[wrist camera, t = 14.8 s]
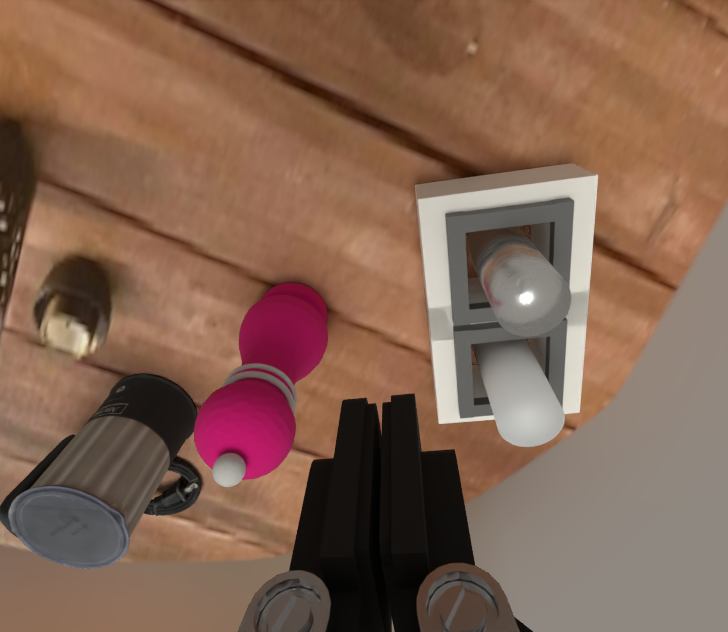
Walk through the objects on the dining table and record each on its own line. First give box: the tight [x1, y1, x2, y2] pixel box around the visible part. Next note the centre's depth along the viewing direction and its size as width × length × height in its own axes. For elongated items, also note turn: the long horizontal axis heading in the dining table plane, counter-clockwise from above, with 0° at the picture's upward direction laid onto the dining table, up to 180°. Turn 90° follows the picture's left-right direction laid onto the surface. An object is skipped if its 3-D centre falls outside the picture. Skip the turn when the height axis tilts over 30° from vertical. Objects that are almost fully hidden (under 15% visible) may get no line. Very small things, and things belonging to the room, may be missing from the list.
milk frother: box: [0, 374, 201, 569], centre depth 44 cm, size 14×16×15 cm
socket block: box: [415, 163, 598, 447], centre depth 35 cm, size 20×12×12 cm, turn 8°
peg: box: [466, 226, 571, 337], centre depth 33 cm, size 4×4×12 cm
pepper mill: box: [194, 282, 328, 487], centre depth 33 cm, size 7×7×20 cm
